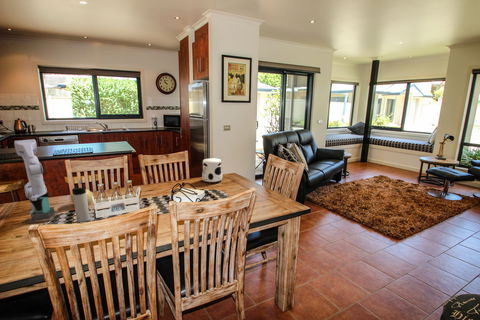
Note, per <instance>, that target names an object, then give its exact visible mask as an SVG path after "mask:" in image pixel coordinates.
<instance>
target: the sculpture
mask: <svg viewBox="0 0 480 320" xmlns="http://www.w3.org/2000/svg"><path fill="white" fill-rule="evenodd" d="M86 195H87V202H88V205H90V204H92V202H93V200H92V196H93V197H94V195H93V193H92V191H90V189H87V188H86ZM70 201H71V202H72V204H73V205H74V199H73V193H71V195H70Z"/></svg>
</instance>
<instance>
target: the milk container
mask: <svg viewBox="0 0 480 320" xmlns="http://www.w3.org/2000/svg"><path fill="white" fill-rule="evenodd" d="M223 177H224V176H223V171H222V160H221V159H220V158H212V157H211V158H204V159H203V160H202V173H201V178H202V181H203V182H206V183H210V184H211V183H212V184H213V183H218V182H221V181H222V180H223Z"/></svg>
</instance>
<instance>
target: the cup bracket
mask: <svg viewBox="0 0 480 320" xmlns="http://www.w3.org/2000/svg"><path fill="white" fill-rule="evenodd" d="M54 207H55V206H50V210H49V211H48V212H46V213H36V214H35V211H34V212H33V213H30V219H29V220H28V221H33V220H42V219H50V218H51V217H52V216H53V215H54V214H55V213H56V211H57V210H55V208H54Z"/></svg>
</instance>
